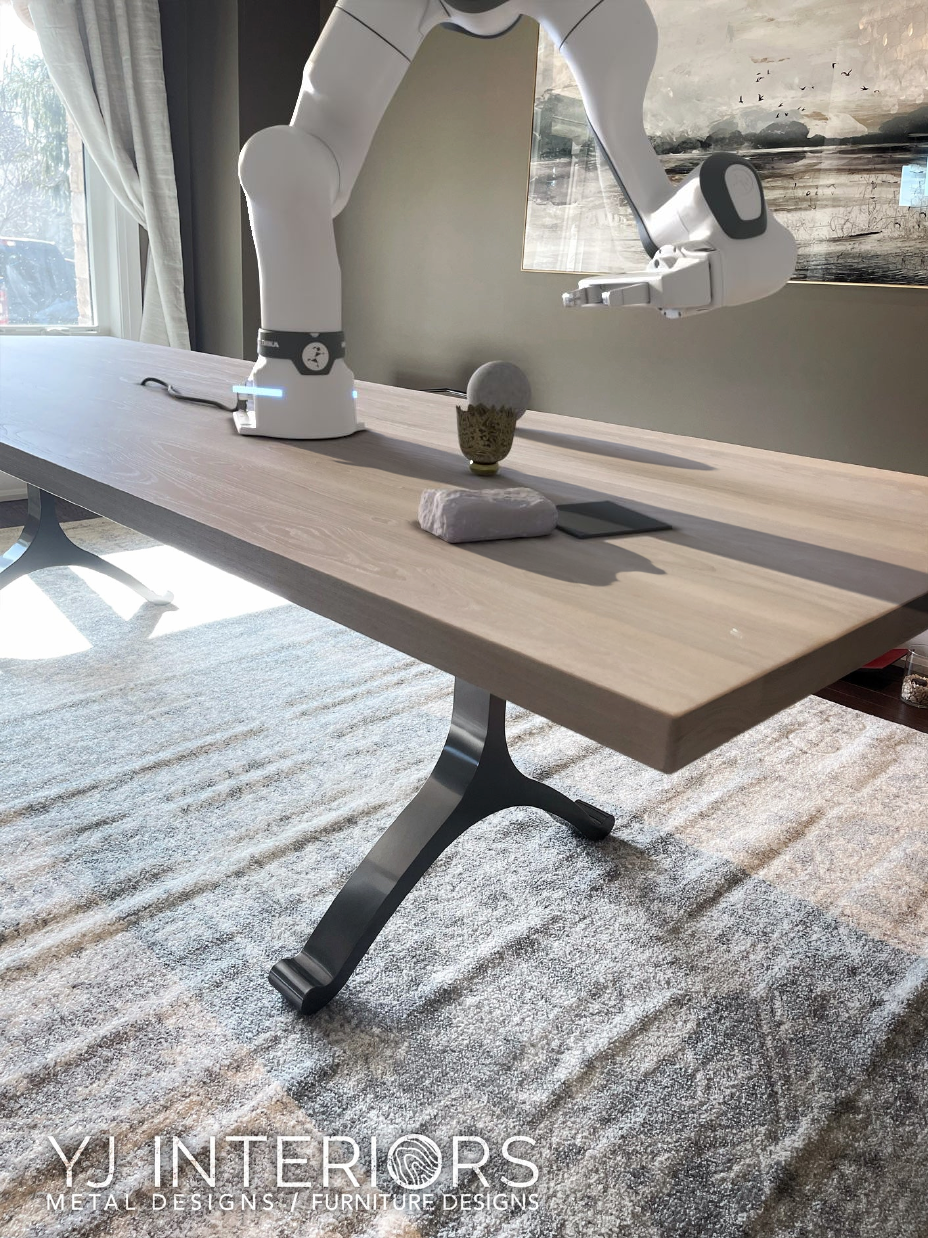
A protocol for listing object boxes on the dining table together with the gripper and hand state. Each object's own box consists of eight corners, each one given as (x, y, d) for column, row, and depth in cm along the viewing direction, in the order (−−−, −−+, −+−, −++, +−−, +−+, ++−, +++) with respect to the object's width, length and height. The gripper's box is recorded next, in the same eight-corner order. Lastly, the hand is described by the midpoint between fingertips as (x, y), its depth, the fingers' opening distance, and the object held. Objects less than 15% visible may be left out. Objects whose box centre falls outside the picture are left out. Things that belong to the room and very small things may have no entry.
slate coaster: (521, 510, 99) (521, 508, 99) (607, 503, 104) (608, 500, 103) (579, 538, 90) (580, 535, 90) (671, 528, 95) (672, 525, 94)
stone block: (408, 536, 94) (447, 544, 85) (408, 487, 93) (447, 489, 84) (516, 532, 99) (563, 539, 90) (516, 486, 98) (564, 488, 89)
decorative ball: (505, 419, 156) (509, 356, 152) (541, 429, 148) (545, 363, 144) (453, 422, 151) (456, 357, 147) (487, 433, 143) (491, 364, 139)
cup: (483, 464, 120) (486, 400, 118) (526, 475, 115) (531, 408, 113) (441, 471, 115) (443, 405, 113) (484, 482, 111) (487, 413, 108)
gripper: (632, 257, 126) (541, 275, 121) (731, 248, 108) (628, 269, 104) (636, 306, 128) (547, 325, 124) (734, 306, 110) (634, 328, 106)
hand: (585, 300), depth 114 cm, fingers open, 8 cm apart
